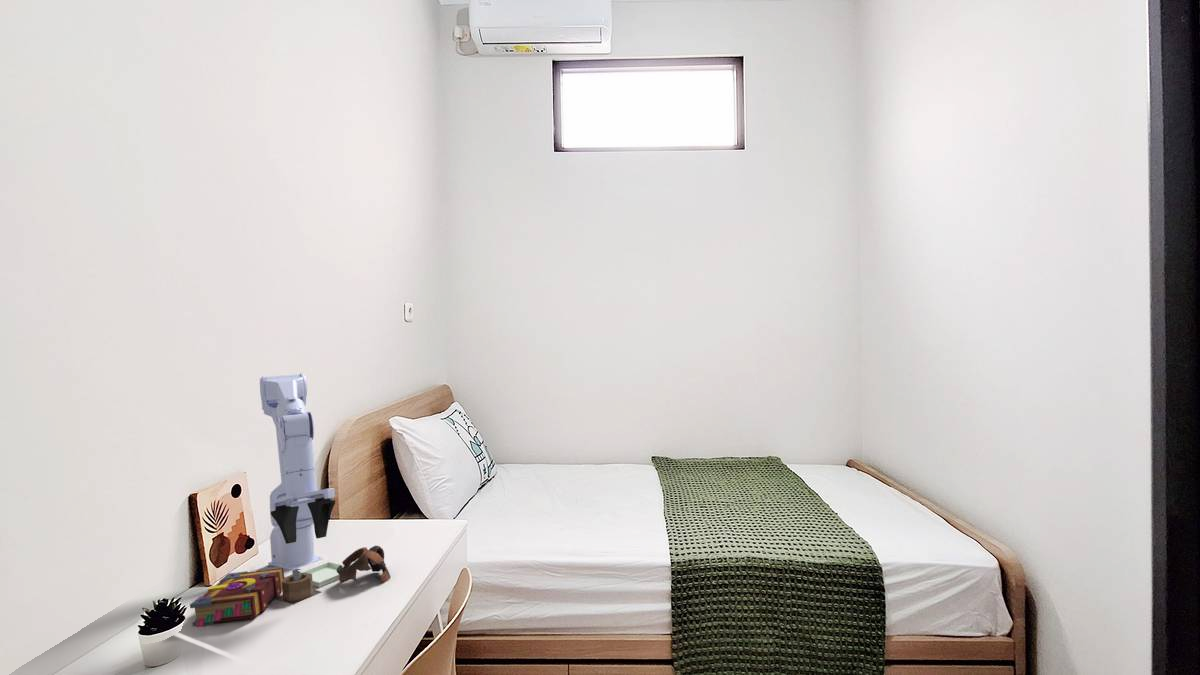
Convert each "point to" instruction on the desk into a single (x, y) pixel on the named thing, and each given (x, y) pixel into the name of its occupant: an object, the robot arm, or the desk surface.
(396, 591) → the desk surface
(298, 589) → the collar
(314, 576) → the tray
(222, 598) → the decorative book
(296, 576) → the grey peg stand
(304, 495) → the robot arm
